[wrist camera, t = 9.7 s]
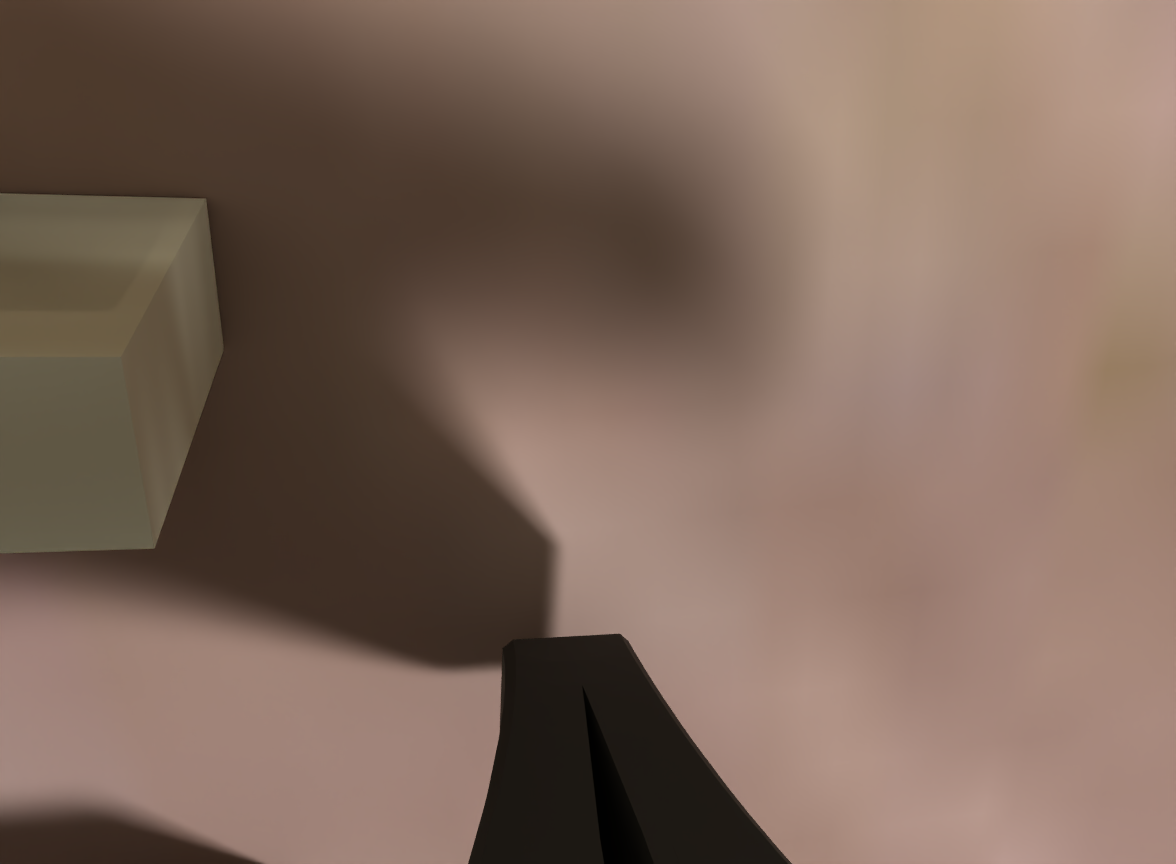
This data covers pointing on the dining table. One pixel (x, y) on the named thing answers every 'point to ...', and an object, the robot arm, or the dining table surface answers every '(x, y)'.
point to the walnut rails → (100, 364)
